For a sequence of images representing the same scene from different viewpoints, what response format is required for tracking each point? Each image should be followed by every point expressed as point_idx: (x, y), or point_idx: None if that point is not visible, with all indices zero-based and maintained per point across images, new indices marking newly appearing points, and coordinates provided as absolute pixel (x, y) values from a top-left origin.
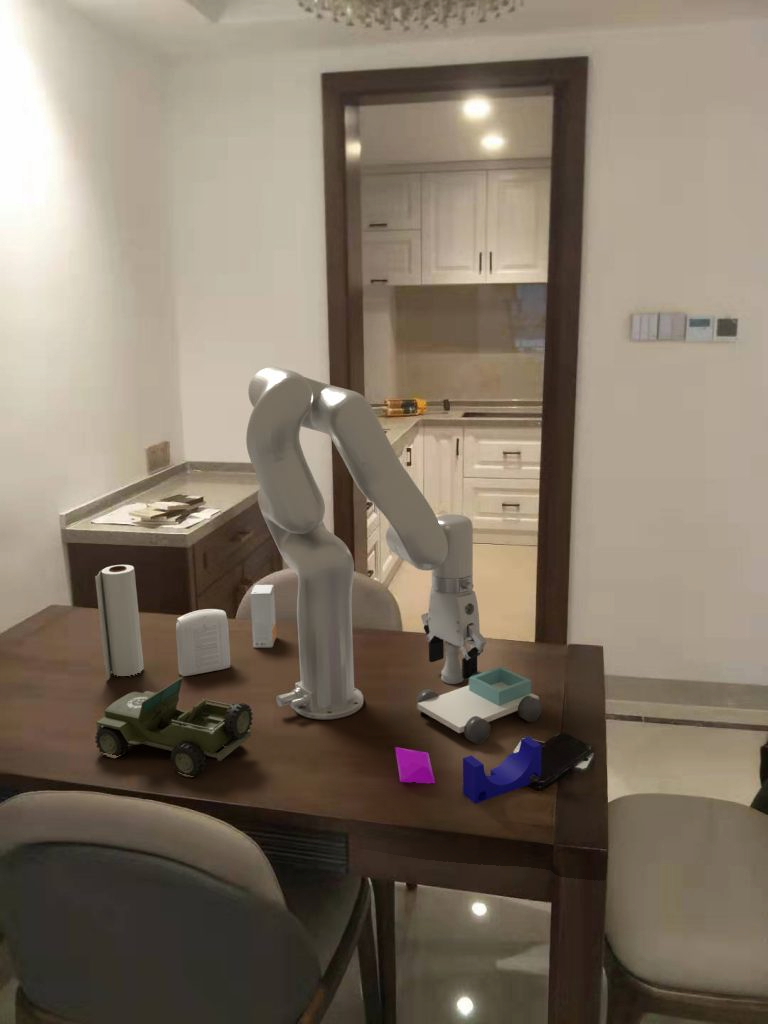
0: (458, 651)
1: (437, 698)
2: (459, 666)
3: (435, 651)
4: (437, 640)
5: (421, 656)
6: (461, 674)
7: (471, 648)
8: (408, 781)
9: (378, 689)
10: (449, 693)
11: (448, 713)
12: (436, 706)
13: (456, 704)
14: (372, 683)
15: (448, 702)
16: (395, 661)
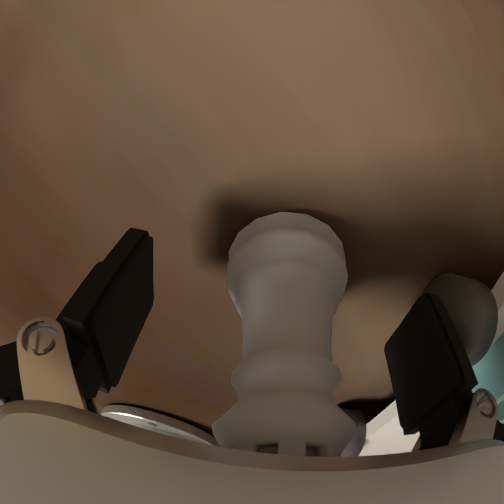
0: (331, 387)
1: (367, 443)
2: (332, 307)
3: (132, 327)
4: (92, 365)
5: (24, 157)
6: (345, 286)
7: (455, 437)
8: None
9: (159, 389)
10: (388, 426)
11: (410, 447)
12: (378, 450)
13: (418, 433)
14: (123, 373)
15: (398, 438)
16: (25, 250)
